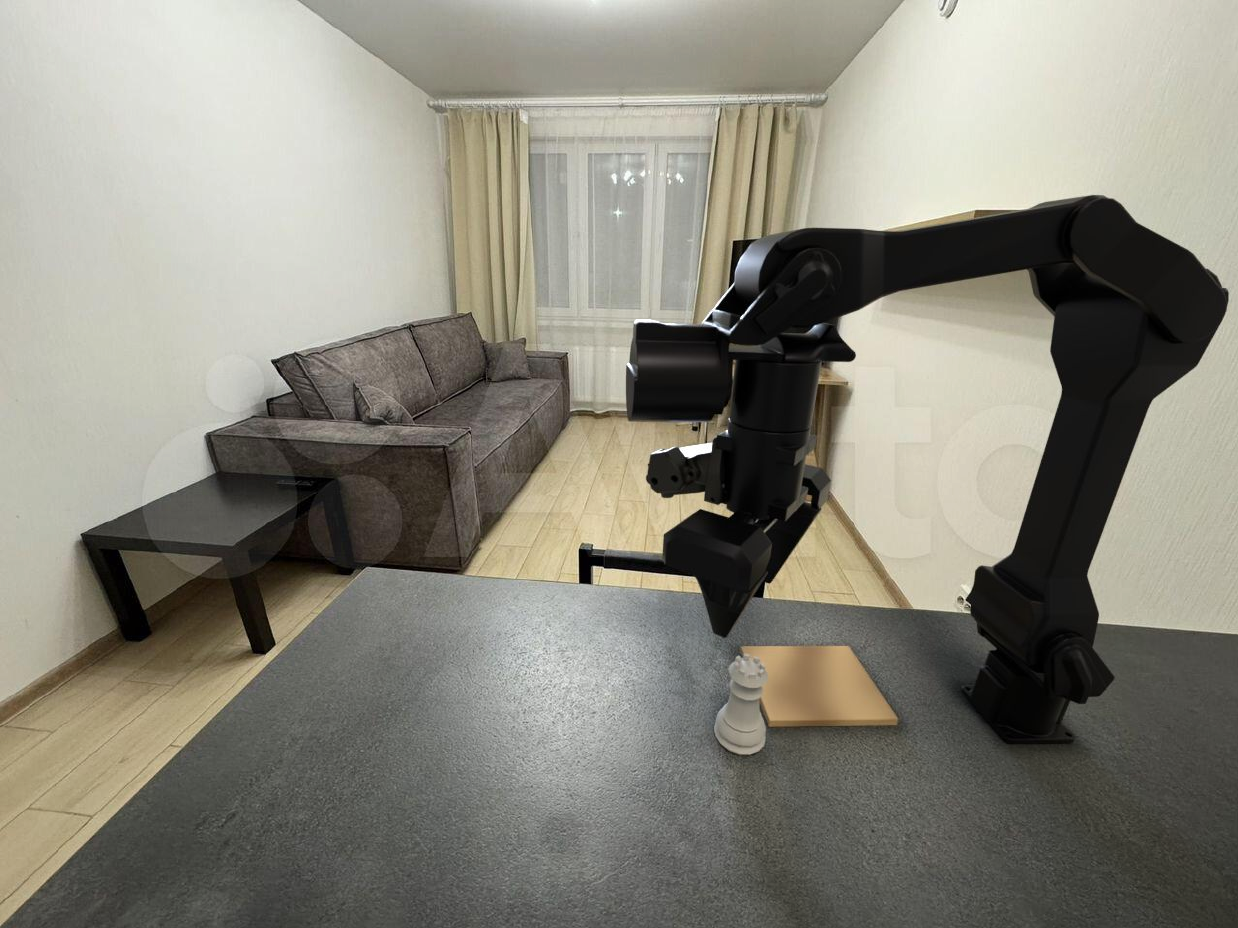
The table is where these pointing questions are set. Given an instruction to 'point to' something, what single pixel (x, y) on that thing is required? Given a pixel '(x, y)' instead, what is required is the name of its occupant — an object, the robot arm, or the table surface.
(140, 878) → the table surface
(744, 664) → the white chess queen
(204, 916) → the table surface
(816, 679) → the coaster board
